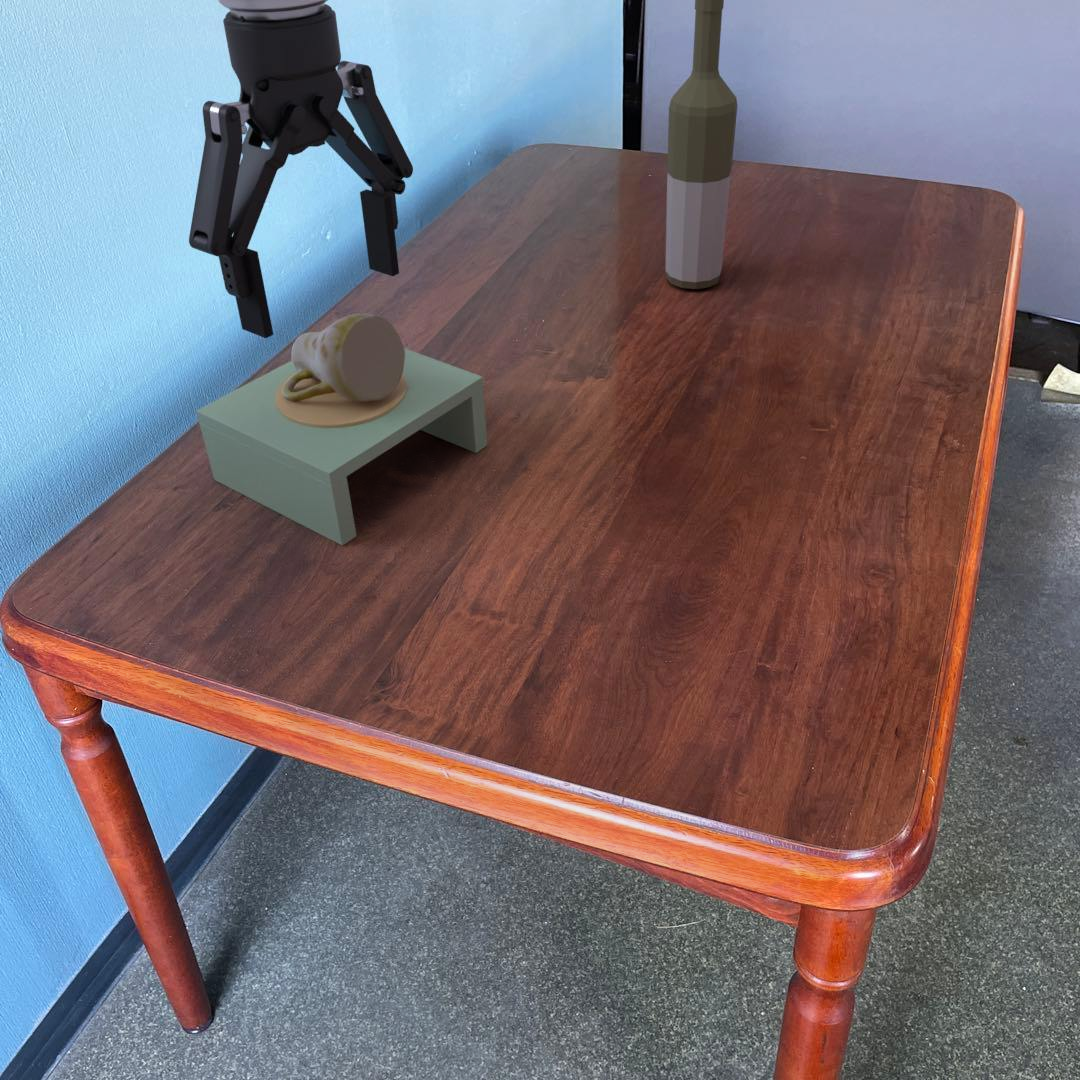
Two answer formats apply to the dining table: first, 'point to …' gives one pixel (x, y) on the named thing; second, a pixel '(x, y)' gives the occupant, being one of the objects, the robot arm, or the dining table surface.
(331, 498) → the shelf
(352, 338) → the mug
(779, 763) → the dining table surface
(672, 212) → the bottle
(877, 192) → the dining table surface
